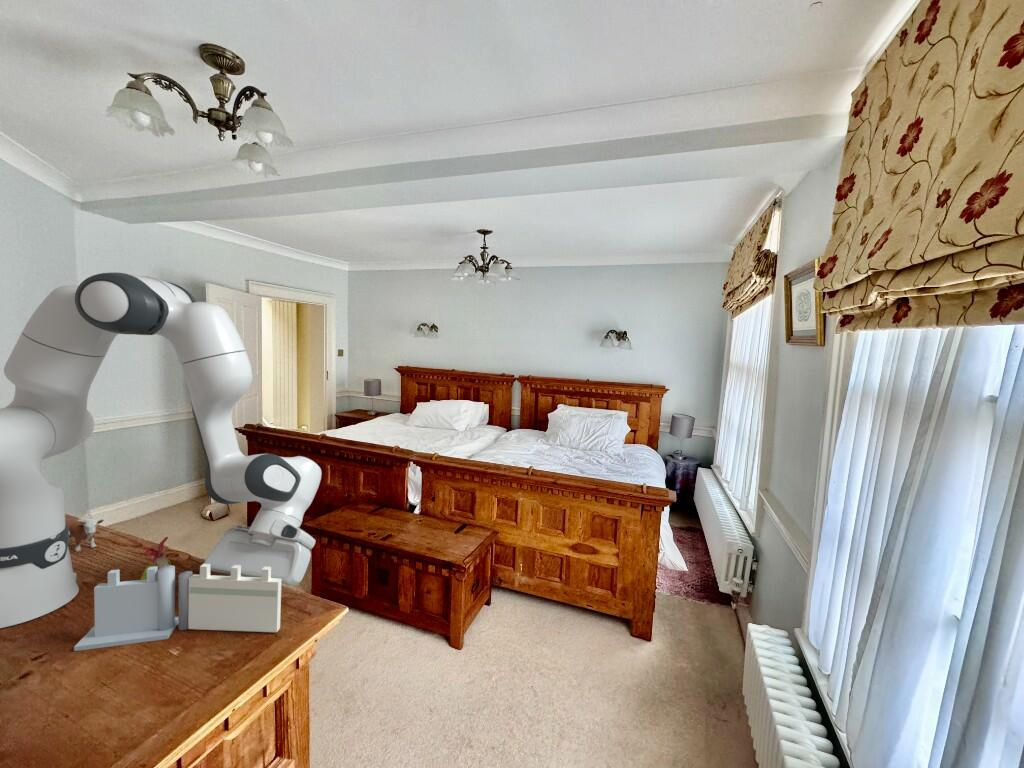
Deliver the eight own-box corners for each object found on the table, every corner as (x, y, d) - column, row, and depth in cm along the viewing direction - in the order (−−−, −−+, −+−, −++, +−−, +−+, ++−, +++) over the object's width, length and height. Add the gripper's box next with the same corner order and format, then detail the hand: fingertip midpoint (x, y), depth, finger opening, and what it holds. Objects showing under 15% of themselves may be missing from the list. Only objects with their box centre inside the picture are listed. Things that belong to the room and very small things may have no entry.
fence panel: (175, 630, 75) (175, 566, 74) (183, 622, 77) (184, 561, 76) (275, 633, 76) (277, 571, 75) (281, 626, 78) (282, 565, 77)
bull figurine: (88, 557, 95) (87, 524, 94) (45, 547, 98) (44, 515, 97) (109, 548, 99) (109, 517, 98) (68, 539, 102) (67, 508, 101)
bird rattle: (185, 593, 89) (169, 564, 92) (194, 556, 85) (177, 527, 89) (148, 608, 83) (133, 576, 87) (156, 569, 80) (140, 538, 84)
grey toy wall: (74, 651, 69) (72, 582, 67) (93, 630, 73) (92, 566, 72) (167, 638, 73) (167, 573, 72) (180, 620, 78) (180, 559, 76)
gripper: (221, 518, 85) (177, 590, 77) (309, 532, 82) (273, 608, 73) (239, 529, 90) (200, 597, 82) (322, 542, 87) (290, 615, 78)
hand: (235, 602), depth 77 cm, fingers closed
